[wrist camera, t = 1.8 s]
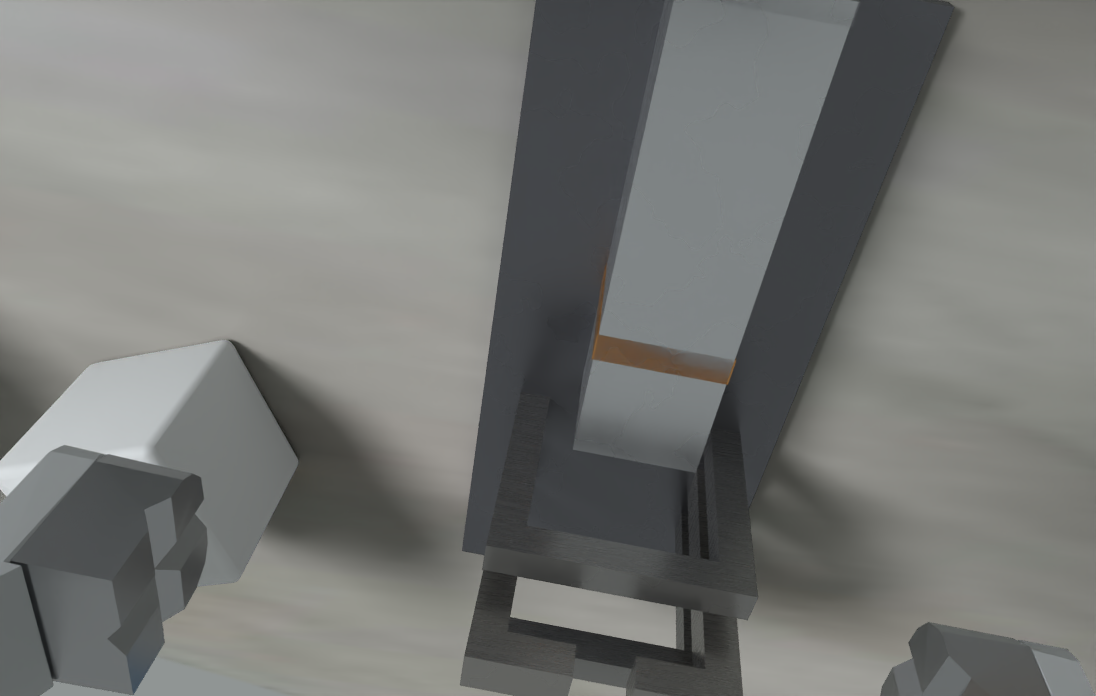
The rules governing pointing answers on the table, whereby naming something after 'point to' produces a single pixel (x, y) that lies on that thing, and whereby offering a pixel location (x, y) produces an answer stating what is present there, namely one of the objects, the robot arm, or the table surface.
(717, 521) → the rail
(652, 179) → the orange-striped grey block
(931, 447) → the table surface
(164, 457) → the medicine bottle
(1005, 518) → the table surface
